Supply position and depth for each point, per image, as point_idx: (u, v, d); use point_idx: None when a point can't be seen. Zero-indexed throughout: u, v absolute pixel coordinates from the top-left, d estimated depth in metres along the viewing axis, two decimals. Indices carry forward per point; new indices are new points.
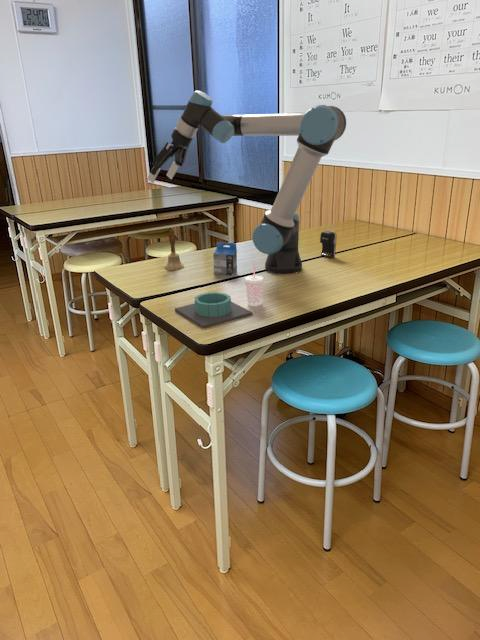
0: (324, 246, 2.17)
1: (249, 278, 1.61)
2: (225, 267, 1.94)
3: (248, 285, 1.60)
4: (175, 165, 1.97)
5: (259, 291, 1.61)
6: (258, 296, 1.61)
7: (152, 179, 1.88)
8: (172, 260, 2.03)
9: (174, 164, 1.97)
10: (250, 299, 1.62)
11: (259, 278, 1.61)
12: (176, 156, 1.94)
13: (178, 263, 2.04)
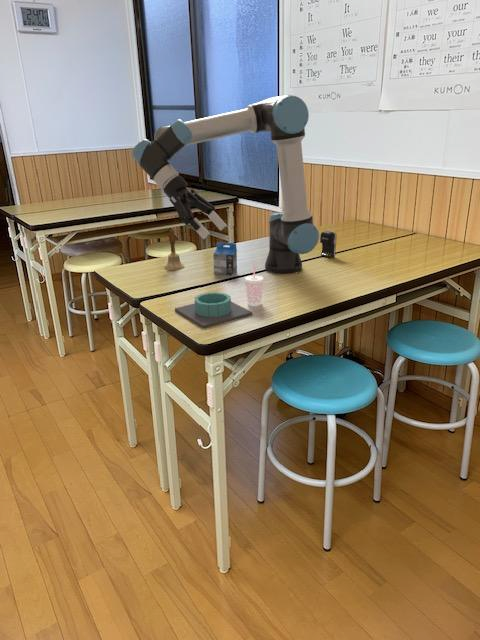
0: (324, 246, 2.17)
1: (249, 278, 1.61)
2: (225, 267, 1.94)
3: (248, 285, 1.60)
4: (211, 214, 1.64)
5: (259, 291, 1.61)
6: (258, 296, 1.61)
7: (205, 232, 1.52)
8: (172, 260, 2.03)
9: (210, 215, 1.64)
10: (250, 299, 1.62)
11: (259, 278, 1.61)
12: (200, 207, 1.63)
13: (178, 263, 2.04)
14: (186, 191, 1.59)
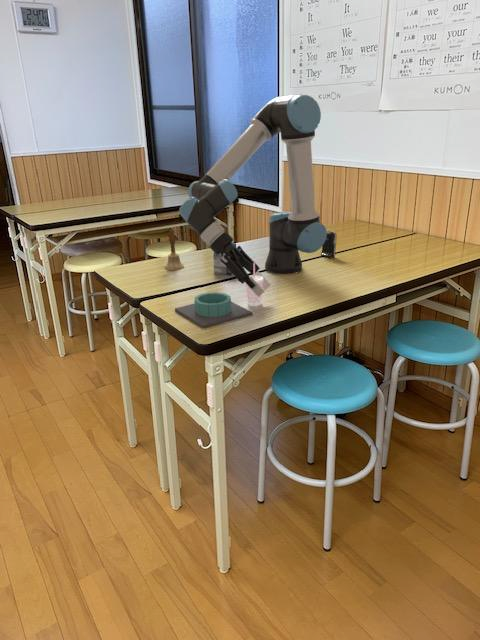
0: (324, 246, 2.17)
1: None
2: (225, 267, 1.94)
3: None
4: (256, 274, 1.64)
5: None
6: None
7: (260, 290, 1.58)
8: (172, 260, 2.03)
9: None
10: (250, 299, 1.62)
11: (259, 278, 1.61)
12: (244, 265, 1.63)
13: (178, 263, 2.04)
14: (231, 245, 1.62)
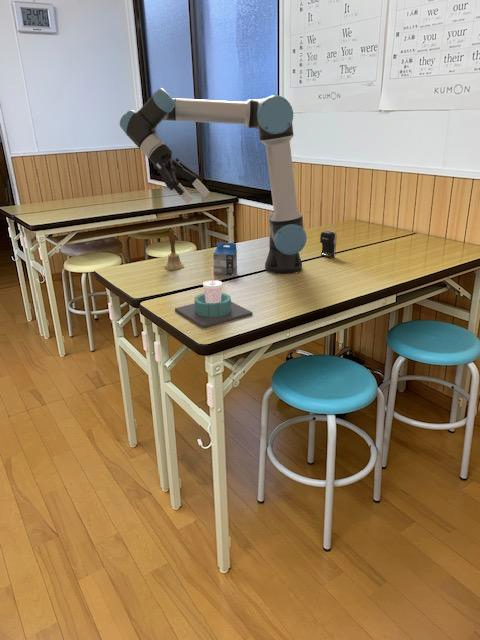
0: (324, 246, 2.17)
1: (207, 283, 1.53)
2: (225, 267, 1.94)
3: (206, 291, 1.52)
4: (195, 182, 1.73)
5: (218, 297, 1.53)
6: (217, 302, 1.54)
7: (188, 196, 1.61)
8: (172, 260, 2.03)
9: (194, 183, 1.73)
10: None
11: (218, 283, 1.54)
12: (184, 175, 1.72)
13: (178, 263, 2.04)
14: (171, 159, 1.68)
